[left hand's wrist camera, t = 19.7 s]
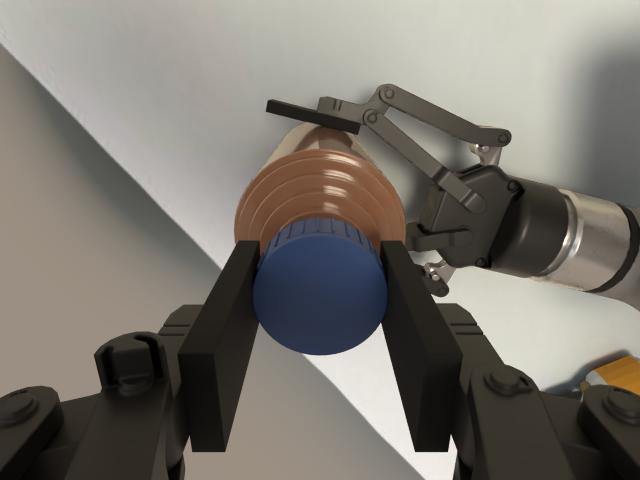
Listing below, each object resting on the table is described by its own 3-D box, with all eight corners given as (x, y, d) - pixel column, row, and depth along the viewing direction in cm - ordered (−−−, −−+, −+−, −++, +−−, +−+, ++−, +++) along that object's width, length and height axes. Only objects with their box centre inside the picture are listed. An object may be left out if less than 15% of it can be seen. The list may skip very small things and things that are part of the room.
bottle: (290, 106, 34) (234, 136, 12) (377, 137, 35) (480, 219, 12) (265, 192, 37) (180, 351, 14) (346, 218, 37) (385, 407, 15)
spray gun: (703, 399, 46) (593, 466, 51) (625, 327, 41) (512, 408, 46) (739, 430, 42) (617, 500, 47) (658, 354, 37) (531, 441, 42)
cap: (396, 305, 15) (406, 333, 13) (287, 341, 16) (283, 372, 14) (357, 197, 13) (363, 213, 12) (238, 241, 14) (226, 262, 12)
